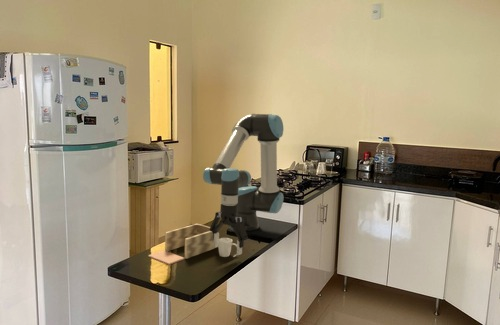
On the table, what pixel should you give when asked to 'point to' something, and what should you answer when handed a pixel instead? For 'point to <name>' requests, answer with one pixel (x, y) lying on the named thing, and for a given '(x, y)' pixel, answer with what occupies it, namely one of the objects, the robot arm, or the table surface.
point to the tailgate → (166, 257)
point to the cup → (225, 246)
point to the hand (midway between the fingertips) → (227, 250)
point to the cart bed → (190, 239)
